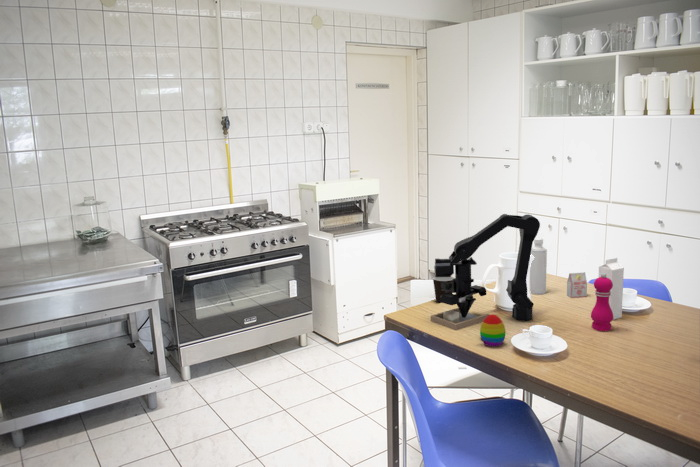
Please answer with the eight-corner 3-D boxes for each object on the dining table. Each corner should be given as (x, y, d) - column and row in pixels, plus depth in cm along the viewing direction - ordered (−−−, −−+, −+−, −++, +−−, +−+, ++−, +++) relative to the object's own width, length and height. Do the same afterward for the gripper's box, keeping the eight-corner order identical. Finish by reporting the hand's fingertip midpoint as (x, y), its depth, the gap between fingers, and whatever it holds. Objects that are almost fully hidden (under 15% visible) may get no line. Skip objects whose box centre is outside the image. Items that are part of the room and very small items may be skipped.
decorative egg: (510, 342, 191) (510, 314, 190) (496, 350, 186) (497, 320, 184) (488, 337, 197) (488, 309, 195) (475, 344, 192) (475, 315, 190)
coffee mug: (448, 305, 233) (447, 282, 231) (429, 302, 238) (429, 279, 237) (461, 298, 242) (460, 275, 240) (442, 295, 247) (442, 273, 246)
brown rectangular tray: (489, 323, 211) (489, 314, 210) (456, 334, 201) (455, 324, 201) (463, 314, 221) (463, 306, 221) (430, 324, 212) (430, 315, 211)
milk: (596, 316, 214) (598, 258, 210) (608, 313, 216) (610, 256, 212) (610, 320, 208) (612, 261, 204) (622, 317, 211) (624, 259, 207)
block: (459, 323, 208) (459, 312, 207) (451, 325, 206) (451, 314, 205) (451, 320, 211) (451, 309, 210) (443, 322, 209) (443, 312, 208)
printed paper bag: (566, 295, 240) (567, 272, 238) (582, 294, 241) (582, 271, 239) (571, 298, 237) (571, 274, 235) (586, 296, 237) (587, 273, 236)
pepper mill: (613, 326, 203) (615, 271, 199) (612, 332, 196) (615, 276, 193) (590, 323, 206) (592, 269, 202) (589, 330, 199) (591, 274, 196)
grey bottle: (548, 291, 246) (549, 234, 242) (541, 295, 242) (542, 237, 237) (533, 289, 251) (534, 233, 246) (526, 292, 246) (527, 235, 242)
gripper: (464, 268, 221) (465, 306, 223) (429, 277, 210) (430, 318, 213) (487, 273, 212) (487, 313, 214) (451, 282, 201) (452, 325, 204)
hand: (463, 317), depth 212 cm, fingers closed
